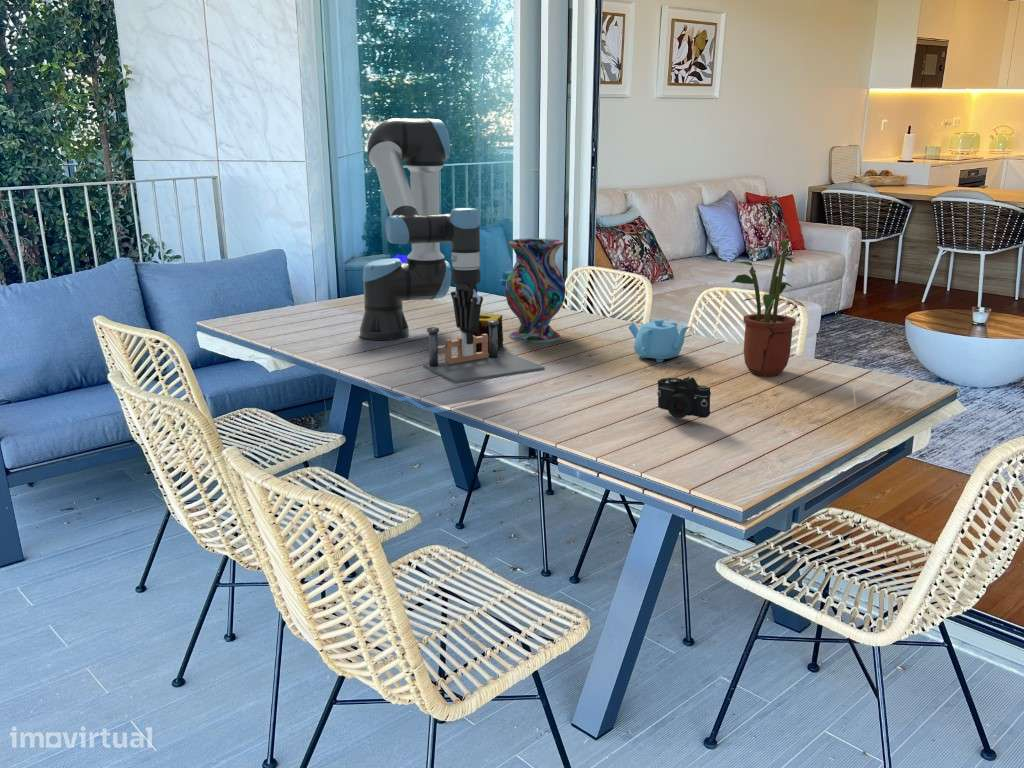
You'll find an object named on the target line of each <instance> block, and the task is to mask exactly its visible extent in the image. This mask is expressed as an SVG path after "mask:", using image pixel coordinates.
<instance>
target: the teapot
mask: <svg viewBox="0 0 1024 768" xmlns="http://www.w3.org/2000/svg"><path fill="white" fill-rule="evenodd" d="M664 321H665V320H664V319H661V318H656V319H654V320H653V321H651V322H647V323H644V324H642V325H641V326H640V327H639V328H638V327H637V325H636V324H635V323H633V324H632V323H631V324H630V325H629V326H627V327H628V330H629V331H630V333H631V334H632V336H633V338H635V339H634V344H633V349H634V352H635V353H636V354H637V355H638V356H640V357H641V358H640V359H642V358H647V359H649V358H650V359H655V362H656V361H657V363H663V361H664V360H668V359H672V358H675V357H677V356H678V355H679V354H680V353H681V352H682V347H683V345H684V344H685V336H686V332H687V330H689V329H690V328H691V326H684V327H682V328H681V329H680V331H679V330H678V322H671V323H666V322H664Z"/></svg>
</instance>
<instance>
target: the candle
mask: <svg viewBox="0 0 1024 768" xmlns="http://www.w3.org/2000/svg"><path fill="white" fill-rule="evenodd" d="M490 320H496V321H499V325H497V332H498V353H499V352H500V351H501V349H502V348H503V346H504V344H503V343H504V333H503V331H504V330H503V314H495V313H493V314H492V313H480V318H479V327H478V330H476V331H474V332H473V335H474V336H476V337H478V336H482V334H488V355H489V325H487V321H490ZM477 352H482V343H476V353H477Z"/></svg>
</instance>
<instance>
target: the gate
mask: <svg viewBox="0 0 1024 768" xmlns="http://www.w3.org/2000/svg"><path fill="white" fill-rule="evenodd" d="M476 343H482V352H477V353H476ZM444 345H445V354H444V355H445V358H444V362H445V363H447V364H451V363H458V362H464V361H470V360H476V359H482V358H488V355H489V354H488V334H482V336H478V337H476V336H474V335H473V355H470V356H463V355H462V336H461V337H457V339H450V338H448V339H445V340H444ZM455 347H456V348H457V355H453V356H452V348H455Z"/></svg>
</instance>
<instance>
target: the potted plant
mask: <svg viewBox="0 0 1024 768" xmlns="http://www.w3.org/2000/svg"><path fill="white" fill-rule="evenodd" d="M780 245H781V247H782V252H781V256H780V254H777V256H776V258H775V262H774V266H773V269H772V275H771V279H770V285H769V290H768V294H767V293H764V294H763V297H762V299H761V294H760V288H759V283H758V276H757V272H756V271H757V270H755V268H754V266H753V263H752V262H751V261H747V260H746V261H745V260H743V261H738V262H737V264H743V265H748V266H751V267H750V269H749V270H748V272H749V274H750V275H748V274H738V275H736V277H735V278H734V279H733V280H732V281H730V283H731V284H733V283H739V284H744V285H746V284H747V285H752V284H753V287H754V293H755V294H754V295H755V298H754V297H753V298H745V299H744V300H743V301H742V302H745V301H749V300H755V301H756V313H752V314H750V313H749V314H746V315H744V316H743V317H742V318H743V320H742V321H743V324H745V326H744V338H743V339H744V340H743V341H744V342H743V358H744V364H745V366H746V367H747V369H748V371H750V373H751V374H753V373H754V374H753V375H756V374H757V375H756V376H760V375H761V377H774V376H775V375H776V376H778V375H779V374H782V373H783V371H784V370H785V368H787V366H788V362H789V359H790V356H791V348H792V339H793V338H792V337H793V327H794V326H796V324H797V319H796V318H794V317H793V316H788V315H784V314H778V309H779V300H780V296H781V295H782V293H783V291H784V290H785V289H786V288H787V286H789V287H791V288H793V286H792V285H791V284H790V283H789V282H785V281H783V277H785V278H787V276H786V274H785V273H784V272H785V271H784V270H785V264H786V260H787V261H788V262H791V263H794V261H793V260H796V258H795V257H788V256H787V252H788V246H789V245H790V240H789V241H788V240H781V241H780ZM778 269H779V270H778ZM761 300H762V301H763V305H764V308H765V309H764V313H762V303H761ZM772 310H773V311H772ZM776 376H775V377H776Z"/></svg>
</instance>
